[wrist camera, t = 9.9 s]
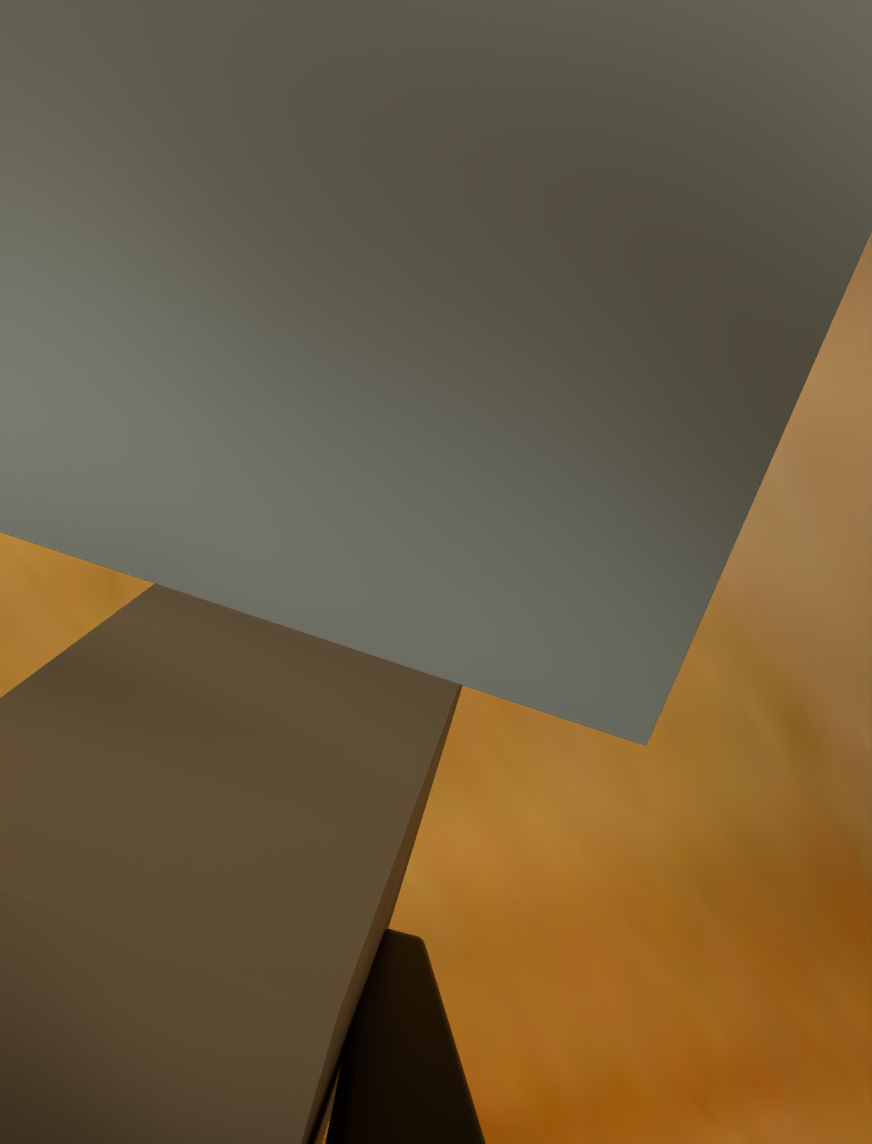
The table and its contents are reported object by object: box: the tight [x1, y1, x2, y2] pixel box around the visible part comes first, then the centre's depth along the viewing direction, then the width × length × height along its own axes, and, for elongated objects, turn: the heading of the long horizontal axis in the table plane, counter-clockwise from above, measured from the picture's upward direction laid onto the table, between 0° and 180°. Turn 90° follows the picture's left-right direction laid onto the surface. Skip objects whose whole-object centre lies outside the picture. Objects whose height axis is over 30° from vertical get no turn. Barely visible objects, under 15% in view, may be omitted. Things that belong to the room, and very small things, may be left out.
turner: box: [0, 0, 872, 1144], centre depth 6 cm, size 13×6×4 cm, turn 164°
